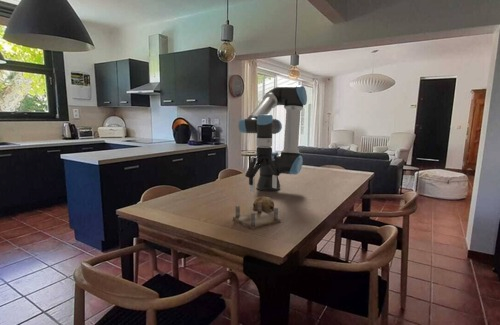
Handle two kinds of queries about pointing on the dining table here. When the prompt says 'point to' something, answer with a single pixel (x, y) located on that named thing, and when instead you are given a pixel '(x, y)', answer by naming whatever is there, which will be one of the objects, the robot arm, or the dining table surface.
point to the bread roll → (264, 204)
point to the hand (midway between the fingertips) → (263, 189)
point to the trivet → (256, 218)
